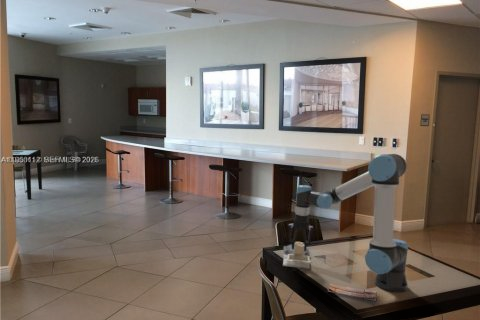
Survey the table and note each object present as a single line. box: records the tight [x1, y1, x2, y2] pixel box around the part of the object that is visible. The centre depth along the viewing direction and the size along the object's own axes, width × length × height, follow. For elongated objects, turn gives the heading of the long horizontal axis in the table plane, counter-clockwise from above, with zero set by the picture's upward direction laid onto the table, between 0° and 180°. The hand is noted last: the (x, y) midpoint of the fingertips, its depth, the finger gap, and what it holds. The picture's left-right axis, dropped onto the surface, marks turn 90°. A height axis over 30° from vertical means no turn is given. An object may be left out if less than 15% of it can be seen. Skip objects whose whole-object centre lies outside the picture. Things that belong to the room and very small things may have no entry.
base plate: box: [282, 252, 311, 270], centre depth 218 cm, size 30×14×3 cm, turn 171°
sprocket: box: [282, 239, 311, 256], centre depth 223 cm, size 16×16×7 cm
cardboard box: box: [295, 241, 304, 259], centre depth 209 cm, size 7×4×7 cm, turn 171°
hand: (298, 255), depth 209 cm, fingers closed on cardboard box, 4 cm apart
